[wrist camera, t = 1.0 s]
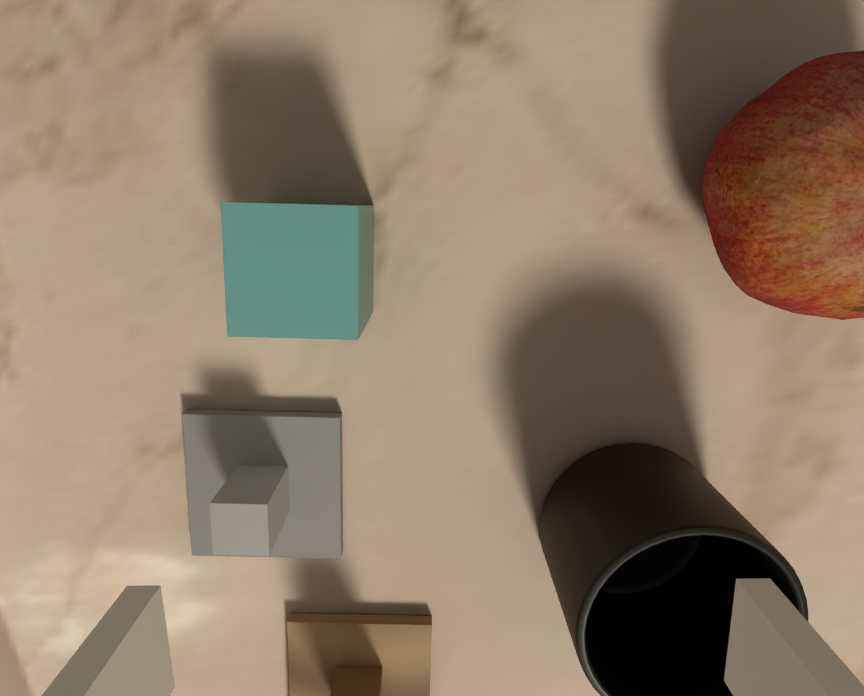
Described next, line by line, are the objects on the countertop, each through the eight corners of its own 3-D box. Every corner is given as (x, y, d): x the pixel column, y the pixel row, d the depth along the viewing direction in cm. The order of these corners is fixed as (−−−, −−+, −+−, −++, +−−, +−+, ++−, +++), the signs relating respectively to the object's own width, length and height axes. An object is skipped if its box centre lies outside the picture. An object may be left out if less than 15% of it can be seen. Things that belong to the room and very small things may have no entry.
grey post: (188, 409, 32) (144, 445, 27) (341, 412, 32) (326, 450, 27) (197, 547, 34) (158, 604, 29) (343, 550, 34) (328, 608, 29)
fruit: (868, 296, 31) (1069, 339, 21) (669, 311, 31) (779, 359, 21) (888, 68, 28) (1127, -2, 19) (672, 84, 29) (798, 23, 19)
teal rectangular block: (265, 202, 30) (220, 202, 23) (373, 205, 30) (358, 205, 23) (269, 308, 31) (227, 336, 24) (373, 311, 31) (358, 339, 25)
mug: (532, 636, 35) (567, 780, 26) (541, 439, 33) (583, 527, 24) (696, 635, 35) (786, 779, 27) (719, 439, 33) (826, 526, 24)
